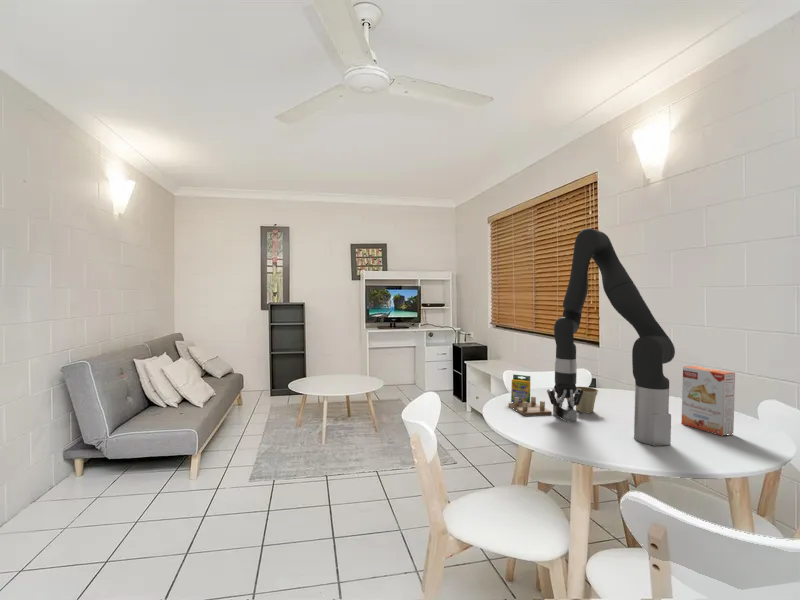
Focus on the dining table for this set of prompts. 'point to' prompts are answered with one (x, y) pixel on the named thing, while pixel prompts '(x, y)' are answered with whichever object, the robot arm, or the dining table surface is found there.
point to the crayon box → (520, 388)
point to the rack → (530, 407)
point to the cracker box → (708, 399)
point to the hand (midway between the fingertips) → (564, 416)
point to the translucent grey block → (567, 413)
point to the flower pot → (587, 400)
